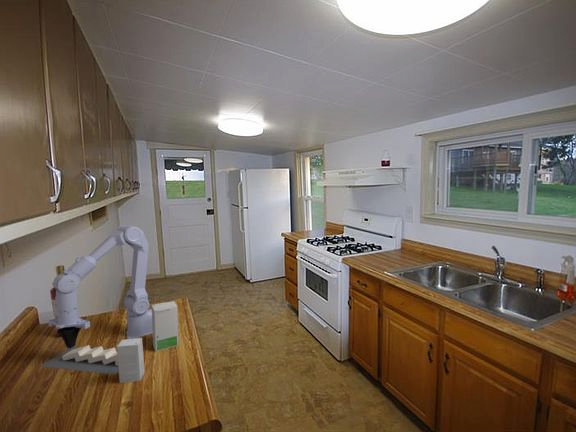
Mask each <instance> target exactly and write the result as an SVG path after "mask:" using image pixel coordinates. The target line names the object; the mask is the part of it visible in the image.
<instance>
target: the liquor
mask: <svg viewBox="0 0 576 432" xmlns="http://www.w3.org/2000/svg"><path fill="white" fill-rule="evenodd" d="M64 270H65V265H56V266H55V272H56V276H58V275H59V274H62V273H64V272H63V271H64ZM56 290H57V289H56V288H54V286H52V288H51V289H50V290H49V293H50V299H51V304H52V305H51V306H52V311H53V319H58V313H57V303H56ZM58 329H59V328H56V327H55V332H54V334H55V335H57V336H59V337H61V336H60V335H59V334H58V333H57V330H58Z"/></svg>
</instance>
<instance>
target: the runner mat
mask: <svg viewBox="0 0 576 432" xmlns="http://www.w3.org/2000/svg"><path fill="white" fill-rule="evenodd" d="M76 348H80V346H74V347H72V348H67V349H65V350H64V351H62V352H61V353H59V354H58V355H55V356H54V357H53V358H50V359H49V360H48V361H46V362H44V363H43V364H41V365H40V367H41V368H51V369H58V370H59V369H60V370H70V371H78V372H79V371H80V372H88V373H89V372H90V373H94V374H95V373H97V374H106V375H116V374H118V373H119V367H118V366H117V365H115V361H113V362H111V363H108V364H105V365H104V364H103V362H102V360H101V361H97V362H93V363H89V362H88V359H86V360H82V361H79V362H76V360H75V358H72V359H68V360H65V361H63V358H62V356H63V355H65V354H67V353H68V352H70V351H71V350H73V349H76ZM93 348H94V347H93ZM93 348H91V347H90V349H93Z"/></svg>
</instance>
